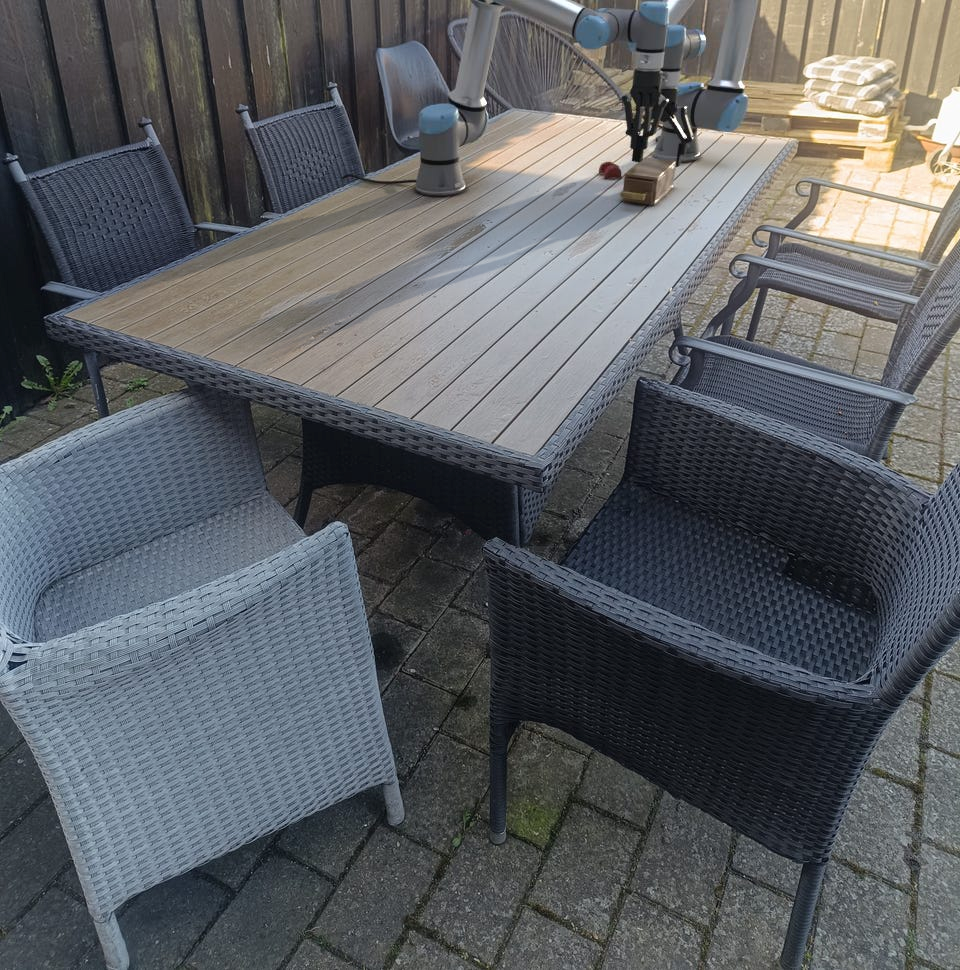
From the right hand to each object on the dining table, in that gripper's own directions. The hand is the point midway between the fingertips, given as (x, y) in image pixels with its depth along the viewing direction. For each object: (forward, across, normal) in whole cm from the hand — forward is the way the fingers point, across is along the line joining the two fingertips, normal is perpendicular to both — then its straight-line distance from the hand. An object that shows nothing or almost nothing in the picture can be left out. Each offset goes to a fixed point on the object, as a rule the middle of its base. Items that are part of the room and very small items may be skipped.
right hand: (655, 163), depth 254 cm
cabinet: (+8, 0, -5) cm, 9 cm away
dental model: (+8, -17, +8) cm, 20 cm away
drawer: (+7, 0, -10) cm, 13 cm away
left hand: (-5, 0, -19) cm, 20 cm away
